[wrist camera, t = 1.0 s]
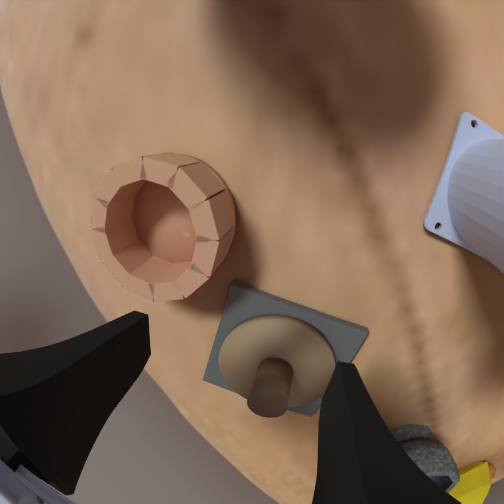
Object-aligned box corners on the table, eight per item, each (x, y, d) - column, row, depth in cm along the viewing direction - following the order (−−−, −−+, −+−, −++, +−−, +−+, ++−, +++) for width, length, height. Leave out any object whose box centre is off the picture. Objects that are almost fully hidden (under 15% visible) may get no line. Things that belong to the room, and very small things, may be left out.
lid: (355, 337, 20) (359, 382, 16) (307, 410, 23) (302, 451, 19) (238, 296, 21) (218, 334, 16) (212, 377, 24) (193, 416, 20)
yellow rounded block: (491, 468, 24) (494, 448, 23) (499, 501, 18) (505, 486, 16) (382, 507, 30) (371, 493, 29) (382, 541, 24) (370, 532, 23)
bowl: (252, 174, 18) (235, 184, 14) (218, 290, 21) (198, 321, 18) (136, 141, 19) (100, 145, 15) (119, 250, 22) (88, 270, 18)
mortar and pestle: (343, 437, 25) (336, 545, 14) (432, 399, 21) (456, 512, 10) (384, 474, 26) (385, 557, 15) (456, 444, 23) (472, 529, 12)
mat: (367, 327, 20) (368, 332, 19) (312, 411, 24) (311, 416, 23) (233, 280, 21) (231, 284, 20) (205, 375, 25) (202, 379, 24)
